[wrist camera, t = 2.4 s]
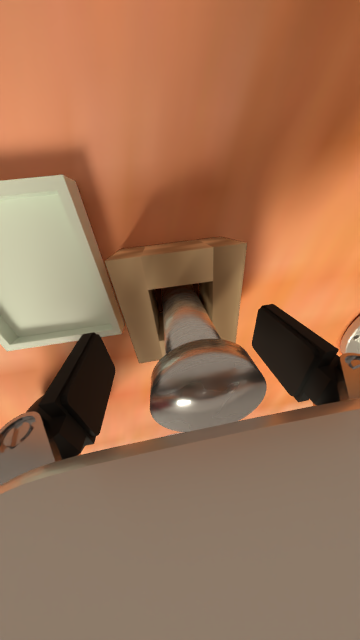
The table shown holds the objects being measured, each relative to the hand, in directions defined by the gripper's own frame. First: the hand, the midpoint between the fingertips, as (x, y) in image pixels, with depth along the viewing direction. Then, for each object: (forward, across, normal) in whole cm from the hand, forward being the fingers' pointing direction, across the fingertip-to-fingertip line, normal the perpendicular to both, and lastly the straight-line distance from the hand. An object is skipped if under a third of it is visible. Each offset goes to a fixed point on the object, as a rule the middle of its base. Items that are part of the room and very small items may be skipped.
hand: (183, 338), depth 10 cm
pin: (+8, -1, 0) cm, 8 cm away
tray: (+8, +11, -3) cm, 14 cm away
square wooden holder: (+8, -1, 0) cm, 8 cm away
